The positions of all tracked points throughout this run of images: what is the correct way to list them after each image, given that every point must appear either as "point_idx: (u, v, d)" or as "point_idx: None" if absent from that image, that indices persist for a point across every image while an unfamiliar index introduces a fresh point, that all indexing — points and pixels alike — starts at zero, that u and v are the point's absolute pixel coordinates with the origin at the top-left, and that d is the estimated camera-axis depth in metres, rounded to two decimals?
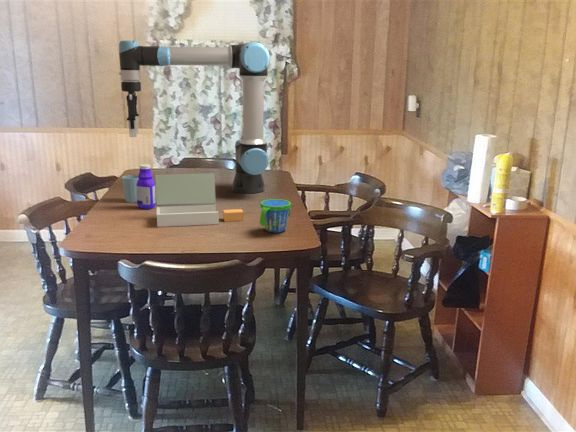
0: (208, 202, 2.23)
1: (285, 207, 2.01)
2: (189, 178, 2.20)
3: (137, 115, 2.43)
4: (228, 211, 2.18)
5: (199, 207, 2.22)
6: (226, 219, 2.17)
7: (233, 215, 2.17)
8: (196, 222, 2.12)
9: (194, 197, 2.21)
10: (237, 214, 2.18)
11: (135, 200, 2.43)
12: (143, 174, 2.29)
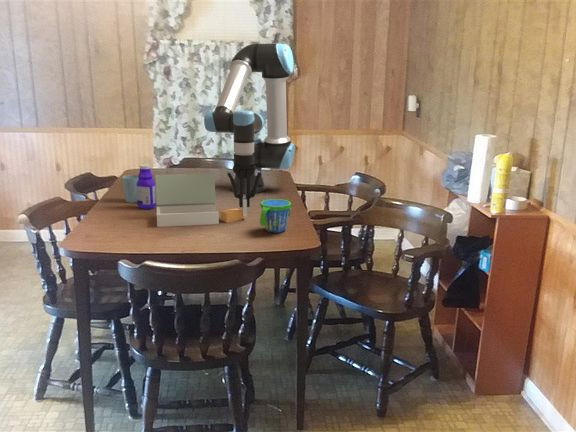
0: (208, 202, 2.23)
1: (285, 207, 2.01)
2: (189, 178, 2.20)
3: (247, 198, 2.17)
4: (228, 211, 2.18)
5: (199, 207, 2.22)
6: (228, 219, 2.16)
7: (234, 215, 2.18)
8: (196, 222, 2.12)
9: (194, 197, 2.21)
10: (238, 213, 2.18)
11: (135, 200, 2.43)
12: (143, 174, 2.29)
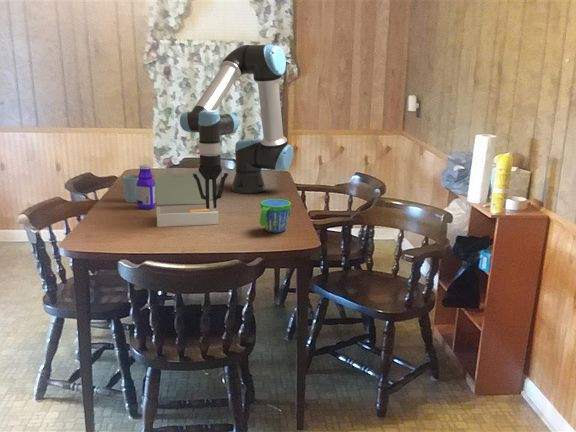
0: None
1: (285, 207, 2.01)
2: (189, 178, 2.20)
3: (214, 199, 2.15)
4: (194, 211, 2.17)
5: (199, 207, 2.22)
6: None
7: None
8: (196, 222, 2.12)
9: (194, 197, 2.21)
10: None
11: (135, 200, 2.43)
12: (143, 174, 2.29)
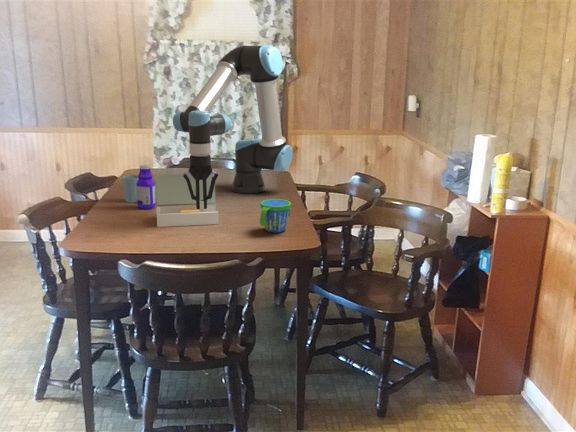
0: (208, 202, 2.23)
1: (285, 207, 2.01)
2: (189, 178, 2.20)
3: (204, 199, 2.14)
4: (184, 211, 2.17)
5: None
6: None
7: None
8: (196, 222, 2.12)
9: None
10: None
11: (135, 200, 2.43)
12: (143, 174, 2.29)
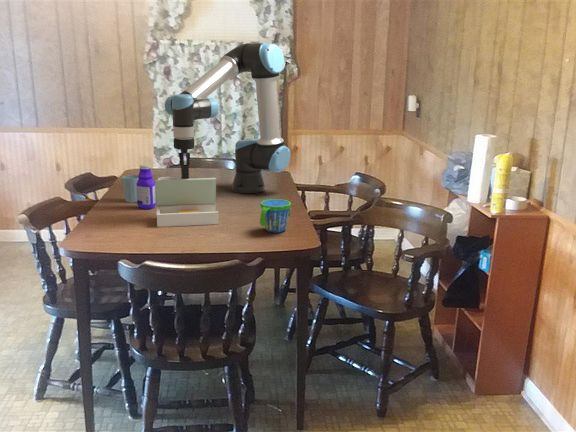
0: (208, 202, 2.22)
1: (285, 207, 2.01)
2: (190, 183, 2.15)
3: None
4: (183, 211, 2.17)
5: (199, 207, 2.22)
6: None
7: None
8: (196, 222, 2.12)
9: (194, 199, 2.20)
10: None
11: (135, 200, 2.43)
12: (143, 174, 2.29)
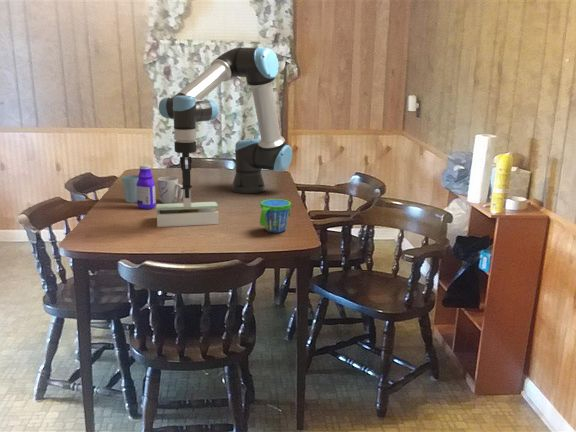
0: (208, 203, 2.23)
1: (285, 207, 2.01)
2: None
3: (190, 186, 2.10)
4: (183, 211, 2.17)
5: None
6: None
7: None
8: (196, 222, 2.12)
9: None
10: None
11: (135, 200, 2.43)
12: (143, 174, 2.29)
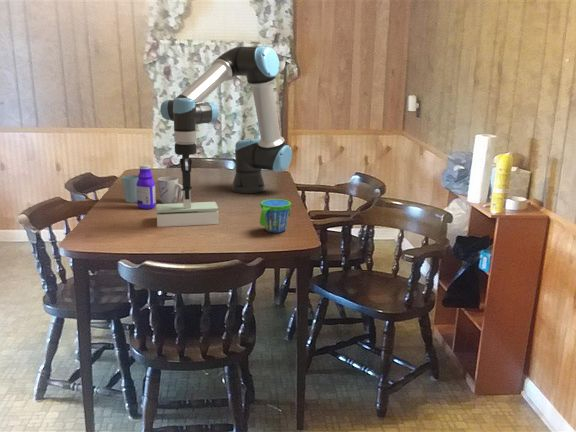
0: None
1: (285, 207, 2.01)
2: None
3: (190, 187, 2.12)
4: None
5: None
6: None
7: None
8: (196, 222, 2.12)
9: None
10: None
11: (135, 200, 2.43)
12: (143, 174, 2.29)
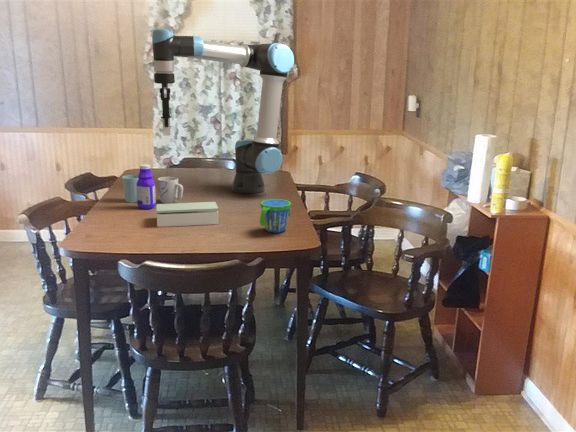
0: None
1: (285, 207, 2.01)
2: None
3: (169, 116, 2.25)
4: None
5: None
6: None
7: None
8: (196, 222, 2.12)
9: None
10: None
11: (135, 200, 2.43)
12: (143, 174, 2.29)
